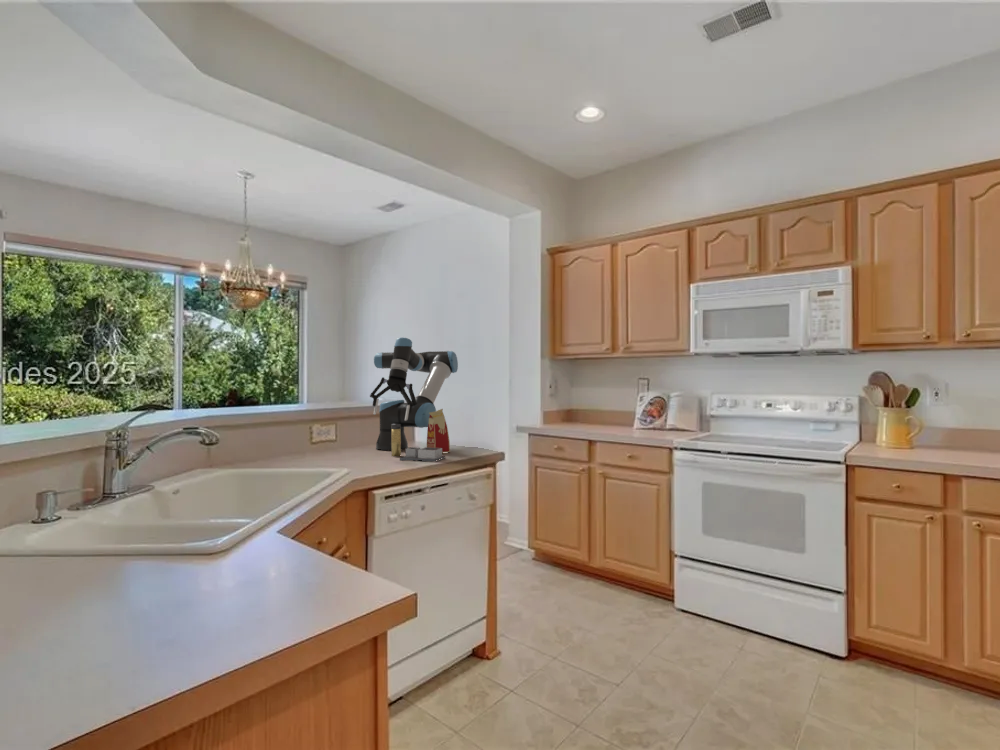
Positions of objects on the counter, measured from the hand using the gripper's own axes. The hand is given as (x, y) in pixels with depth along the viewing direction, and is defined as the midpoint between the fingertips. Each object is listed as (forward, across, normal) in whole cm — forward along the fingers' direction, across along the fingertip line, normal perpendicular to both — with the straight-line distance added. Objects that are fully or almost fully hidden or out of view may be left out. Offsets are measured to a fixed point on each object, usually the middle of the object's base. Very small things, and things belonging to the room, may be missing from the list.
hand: (390, 417), depth 221 cm
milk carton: (+9, +26, +11) cm, 29 cm away
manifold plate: (+16, +16, -5) cm, 23 cm away
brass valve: (+15, +7, +8) cm, 18 cm away
